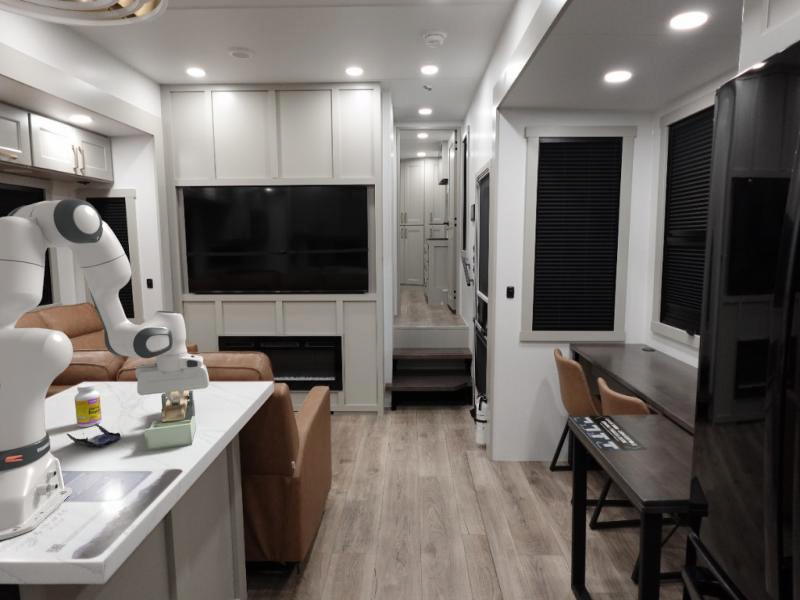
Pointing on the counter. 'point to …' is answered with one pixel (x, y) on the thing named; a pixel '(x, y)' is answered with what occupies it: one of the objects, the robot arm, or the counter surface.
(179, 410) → the lever
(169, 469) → the counter surface
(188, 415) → the fulcrum
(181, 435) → the dish
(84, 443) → the snack package
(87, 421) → the supplement bottle
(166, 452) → the counter surface
